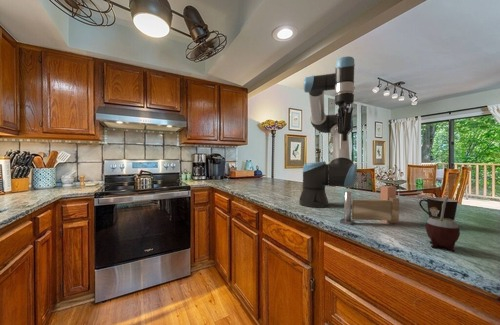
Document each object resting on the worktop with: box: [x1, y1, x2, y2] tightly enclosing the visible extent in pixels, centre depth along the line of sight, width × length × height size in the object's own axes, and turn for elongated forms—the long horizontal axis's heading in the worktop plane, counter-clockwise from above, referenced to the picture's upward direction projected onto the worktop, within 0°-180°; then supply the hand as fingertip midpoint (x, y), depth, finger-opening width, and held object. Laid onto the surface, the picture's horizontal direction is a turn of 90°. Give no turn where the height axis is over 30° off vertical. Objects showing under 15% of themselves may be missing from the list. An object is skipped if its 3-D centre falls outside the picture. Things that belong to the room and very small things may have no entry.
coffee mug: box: [418, 196, 458, 221], centre depth 80 cm, size 12×9×10 cm
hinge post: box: [339, 191, 356, 226], centre depth 81 cm, size 4×4×12 cm
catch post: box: [379, 185, 397, 224], centre depth 83 cm, size 4×4×14 cm
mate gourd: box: [425, 197, 461, 253], centre depth 58 cm, size 8×8×15 cm
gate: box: [351, 197, 400, 223], centre depth 80 cm, size 2×17×9 cm, turn 88°
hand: (343, 148), depth 91 cm, fingers closed
